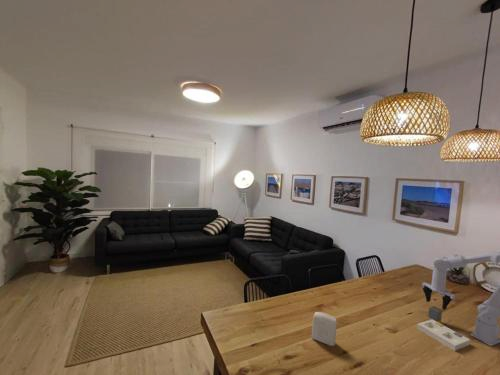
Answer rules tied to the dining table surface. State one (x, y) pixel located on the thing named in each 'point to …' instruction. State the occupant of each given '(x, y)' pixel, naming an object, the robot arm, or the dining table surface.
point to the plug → (435, 314)
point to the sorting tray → (443, 334)
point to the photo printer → (324, 328)
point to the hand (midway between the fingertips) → (436, 305)
